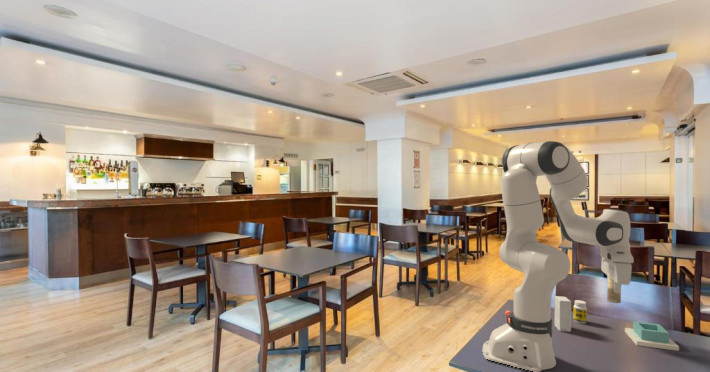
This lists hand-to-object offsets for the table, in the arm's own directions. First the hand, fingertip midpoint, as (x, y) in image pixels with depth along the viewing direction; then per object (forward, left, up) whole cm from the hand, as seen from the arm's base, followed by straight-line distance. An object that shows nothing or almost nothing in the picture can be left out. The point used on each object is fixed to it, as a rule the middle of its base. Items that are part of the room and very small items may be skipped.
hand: (614, 290), depth 131 cm
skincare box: (-16, +4, -19) cm, 25 cm away
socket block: (+12, +3, -18) cm, 22 cm away
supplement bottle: (-8, +14, -19) cm, 25 cm away
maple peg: (0, 0, -4) cm, 4 cm away
